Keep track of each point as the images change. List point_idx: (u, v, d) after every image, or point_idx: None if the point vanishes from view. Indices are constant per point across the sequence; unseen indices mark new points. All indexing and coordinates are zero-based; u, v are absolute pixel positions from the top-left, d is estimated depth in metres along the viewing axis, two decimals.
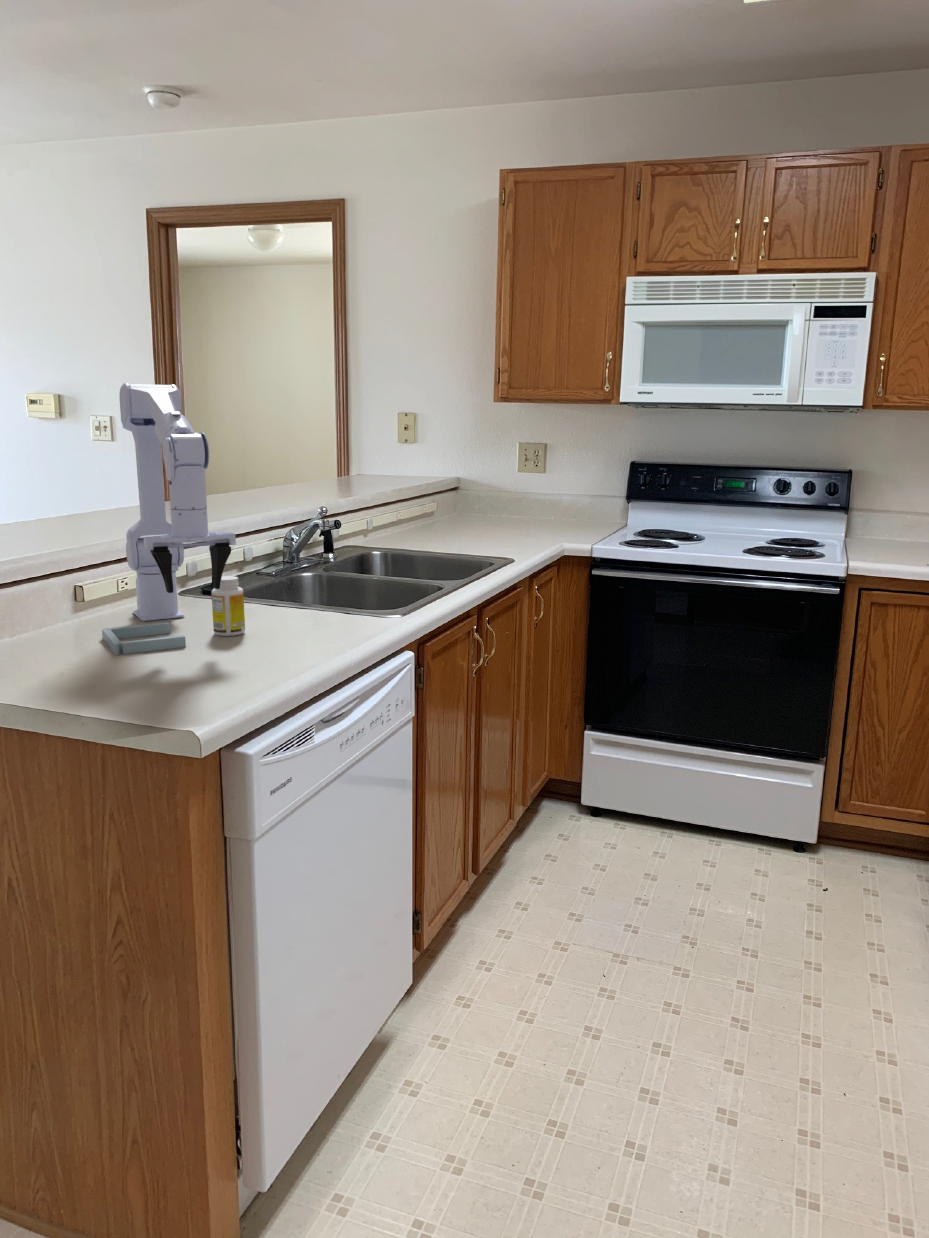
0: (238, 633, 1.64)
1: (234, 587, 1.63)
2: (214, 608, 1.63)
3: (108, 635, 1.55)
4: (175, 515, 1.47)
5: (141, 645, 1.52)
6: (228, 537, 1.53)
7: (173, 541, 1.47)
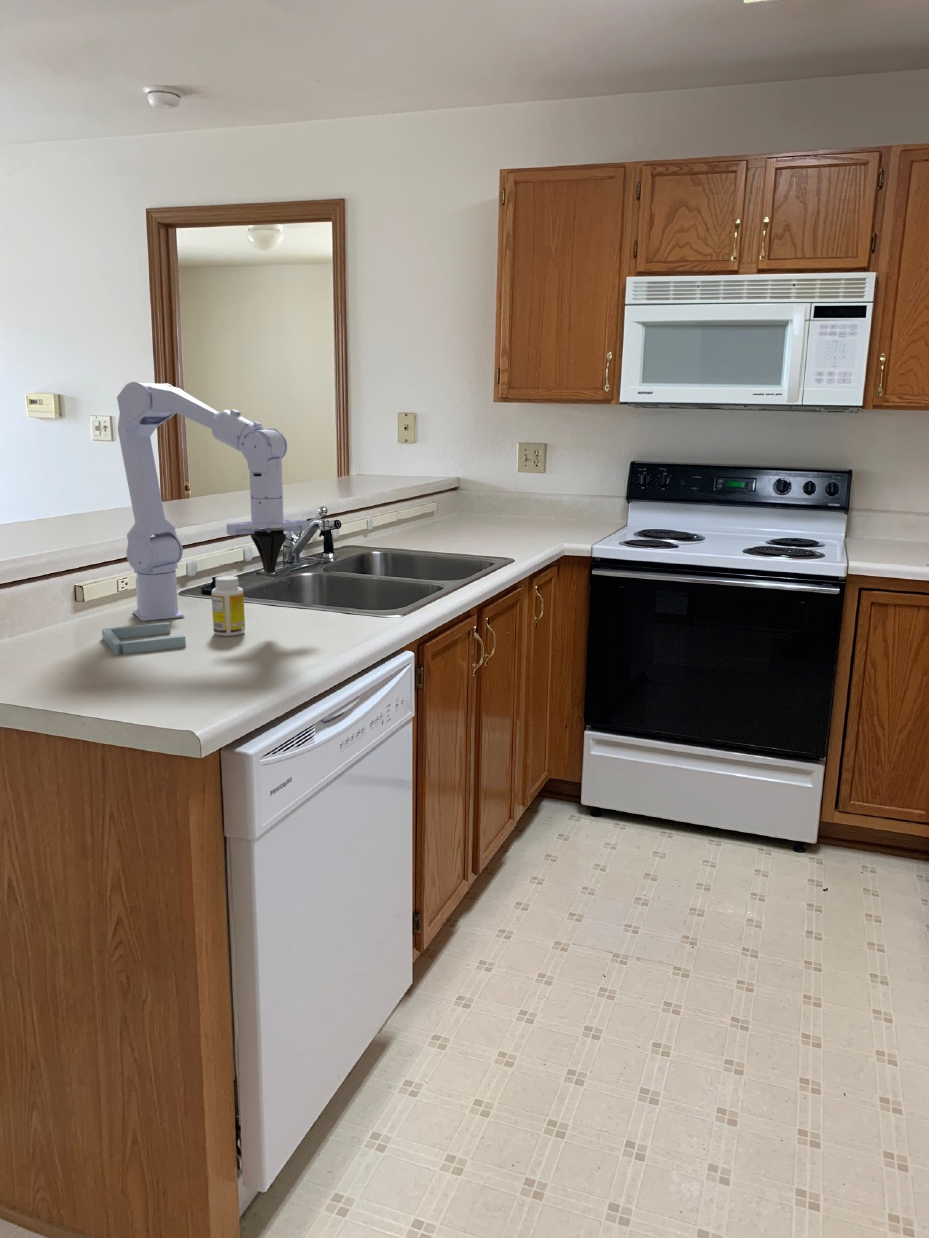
0: (238, 633, 1.64)
1: (234, 587, 1.63)
2: (214, 608, 1.63)
3: (108, 635, 1.55)
4: (255, 503, 1.62)
5: (141, 645, 1.52)
6: (301, 524, 1.68)
7: (253, 527, 1.62)
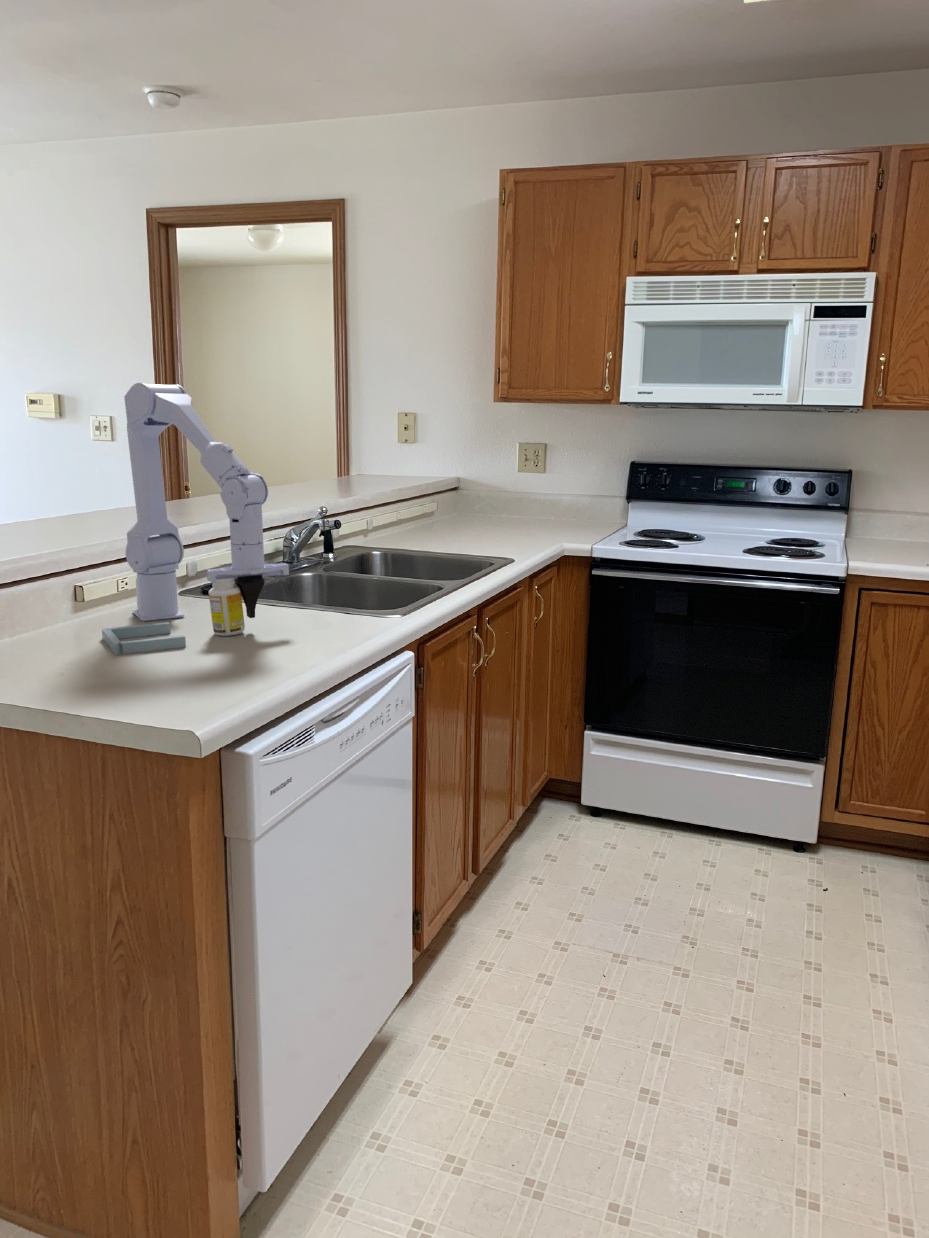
0: (238, 632, 1.64)
1: (231, 586, 1.62)
2: (212, 608, 1.62)
3: (108, 635, 1.55)
4: (235, 549, 1.62)
5: (141, 645, 1.52)
6: (282, 568, 1.67)
7: (234, 573, 1.61)
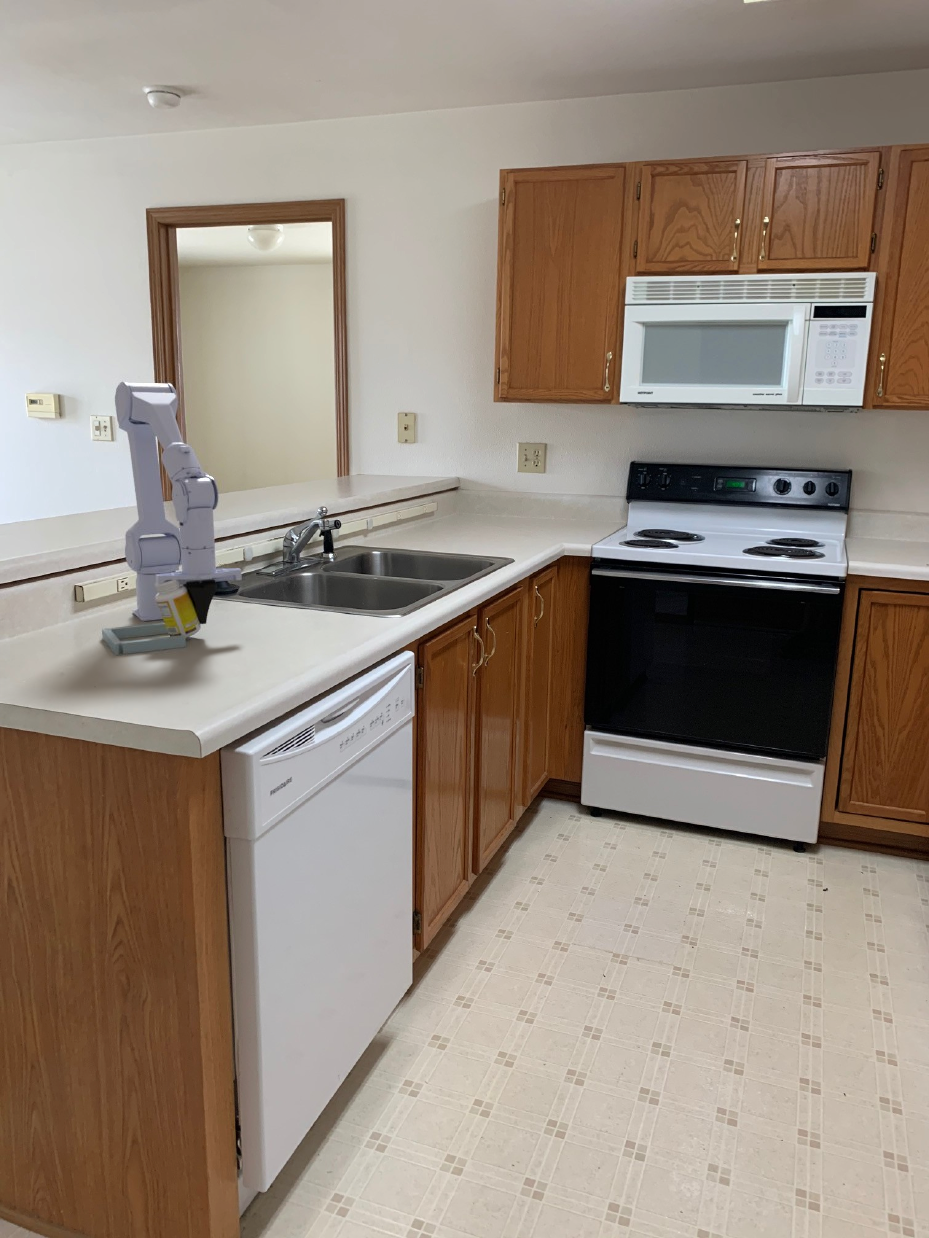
0: (194, 632, 1.59)
1: (176, 588, 1.57)
2: (162, 614, 1.58)
3: (108, 635, 1.55)
4: (185, 554, 1.57)
5: (141, 645, 1.52)
6: (234, 573, 1.63)
7: (183, 578, 1.57)
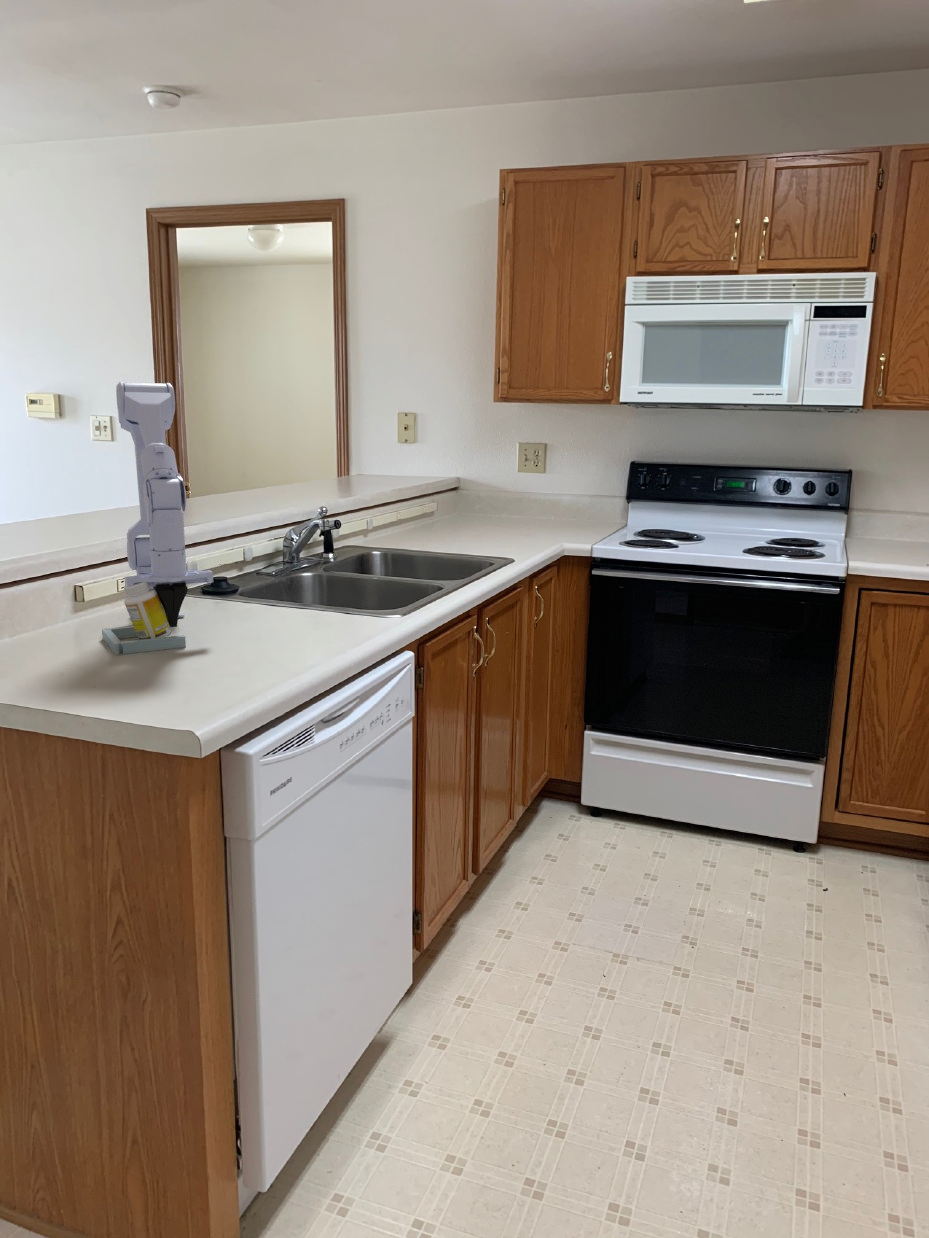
0: (164, 636, 1.57)
1: (145, 591, 1.55)
2: (131, 617, 1.55)
3: (108, 635, 1.55)
4: (154, 556, 1.55)
5: (141, 645, 1.52)
6: (206, 575, 1.60)
7: (152, 581, 1.55)
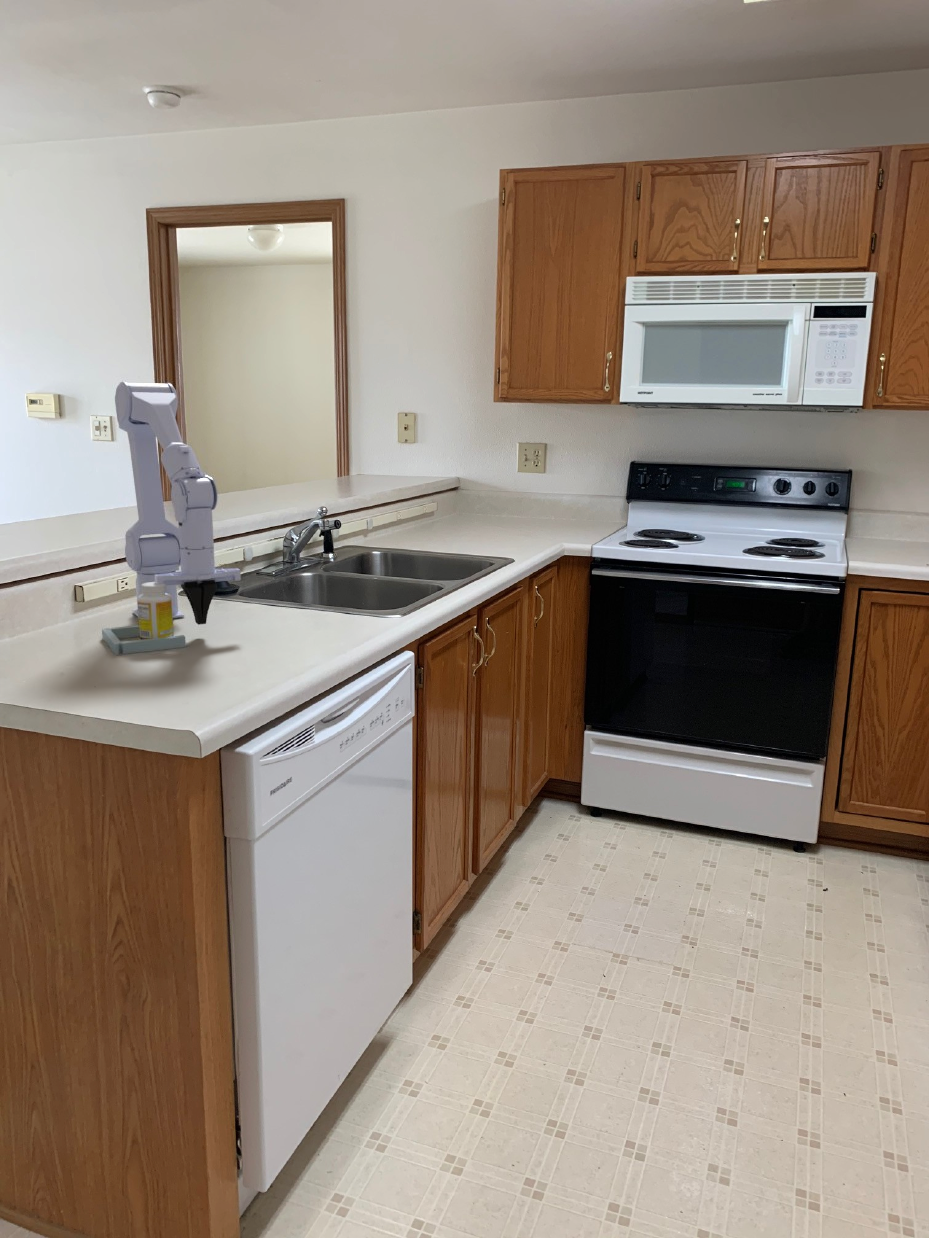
0: None
1: (161, 594, 1.56)
2: (140, 615, 1.56)
3: (108, 635, 1.55)
4: (184, 554, 1.57)
5: (141, 645, 1.52)
6: (233, 573, 1.63)
7: (182, 578, 1.57)
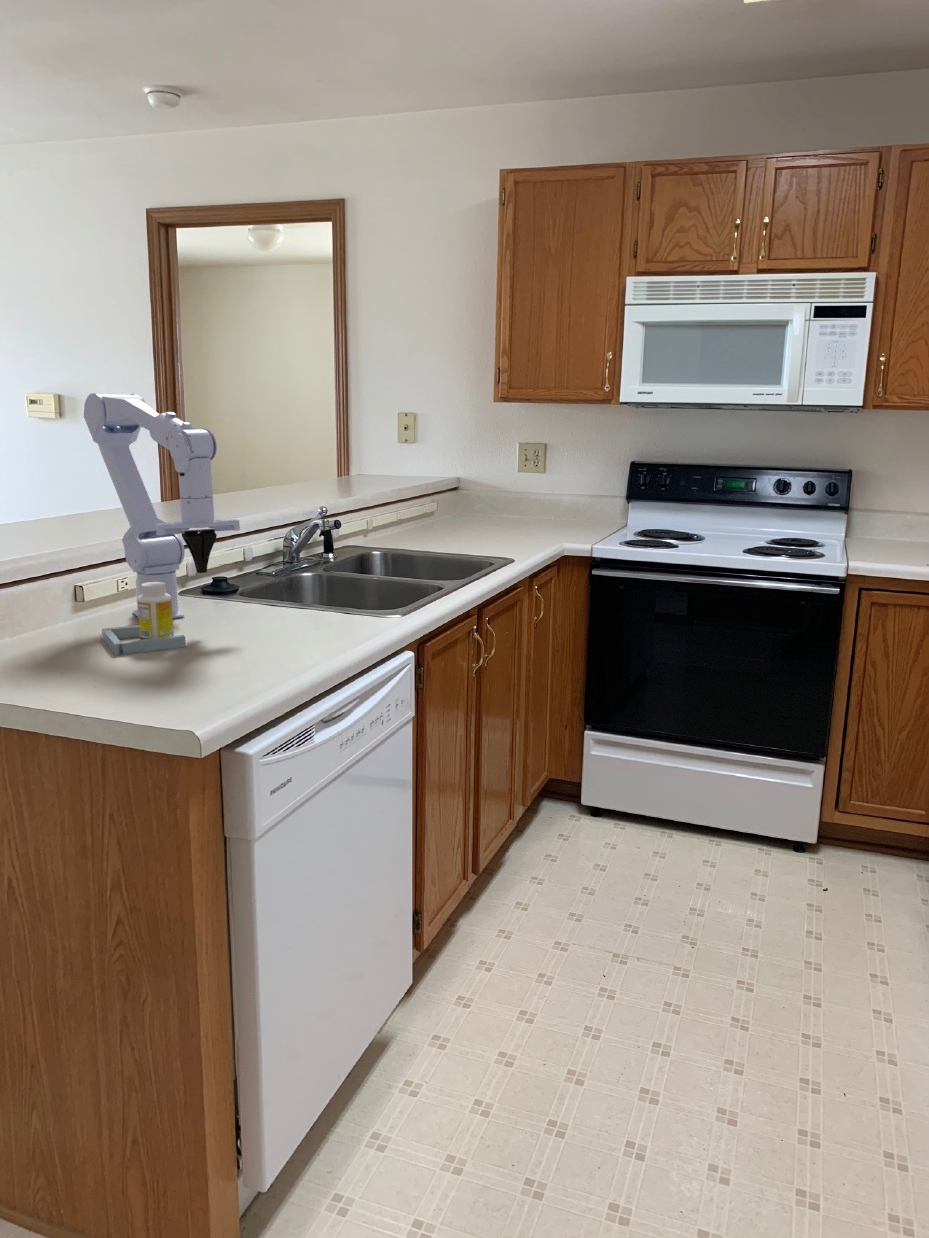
0: None
1: (161, 593, 1.56)
2: (139, 615, 1.56)
3: (108, 635, 1.55)
4: (184, 503, 1.62)
5: (141, 645, 1.52)
6: (232, 523, 1.67)
7: (183, 527, 1.62)
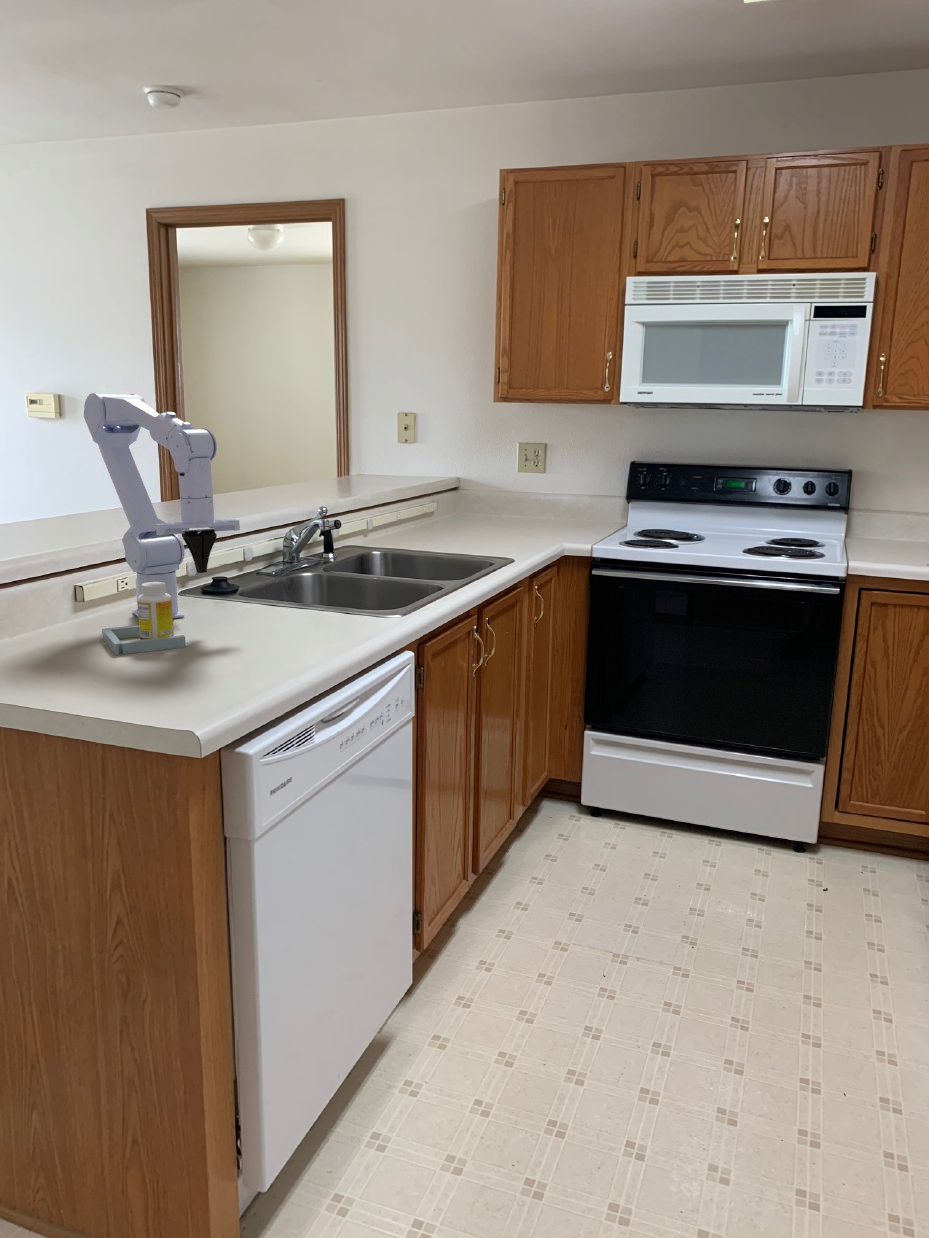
0: None
1: (161, 593, 1.56)
2: (140, 615, 1.56)
3: (108, 635, 1.55)
4: (184, 503, 1.62)
5: (141, 645, 1.52)
6: (232, 523, 1.67)
7: (183, 527, 1.62)
